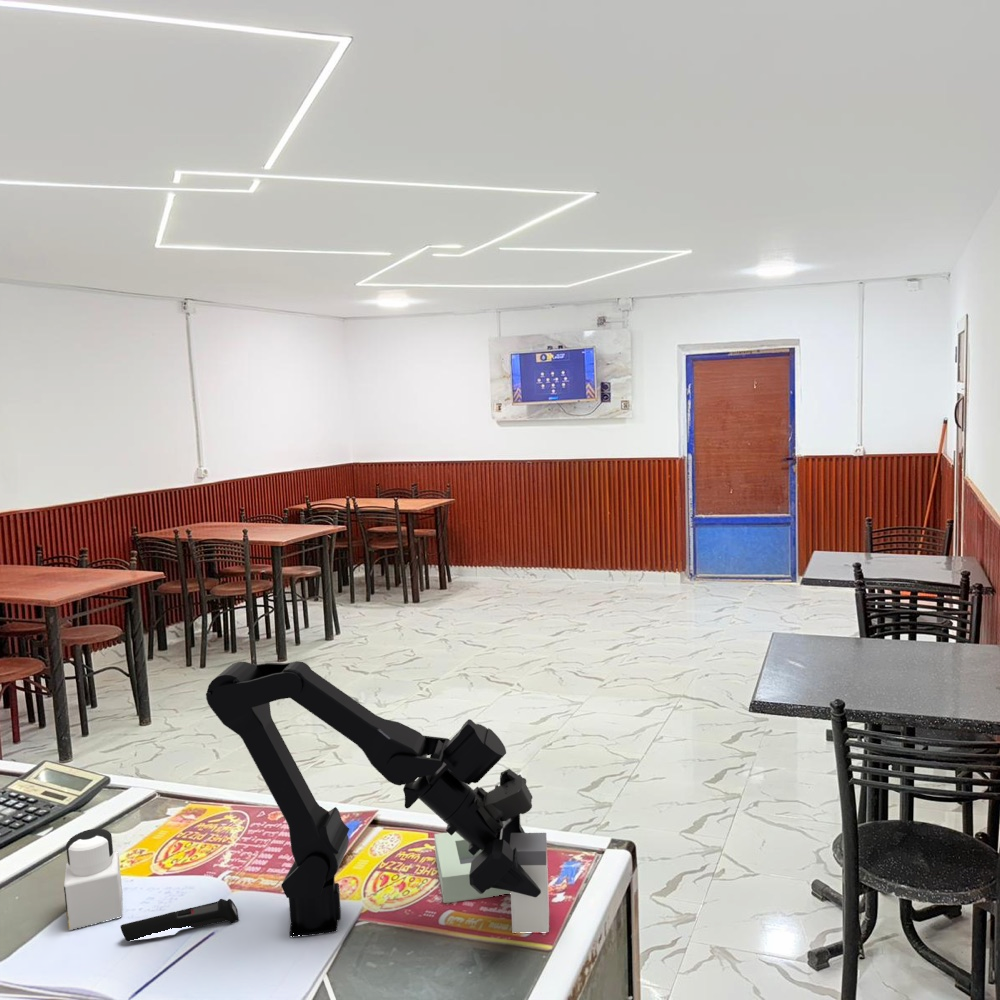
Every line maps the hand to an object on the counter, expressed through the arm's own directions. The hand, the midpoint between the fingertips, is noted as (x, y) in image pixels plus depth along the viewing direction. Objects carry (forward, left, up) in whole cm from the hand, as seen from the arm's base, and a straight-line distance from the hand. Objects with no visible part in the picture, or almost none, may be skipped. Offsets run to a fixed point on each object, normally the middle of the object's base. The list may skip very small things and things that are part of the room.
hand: (539, 878), depth 122 cm
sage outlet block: (-6, +14, -7) cm, 17 cm away
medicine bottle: (-63, +17, -7) cm, 66 cm away
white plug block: (-1, 0, -7) cm, 7 cm away
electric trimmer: (-50, +10, -7) cm, 51 cm away
